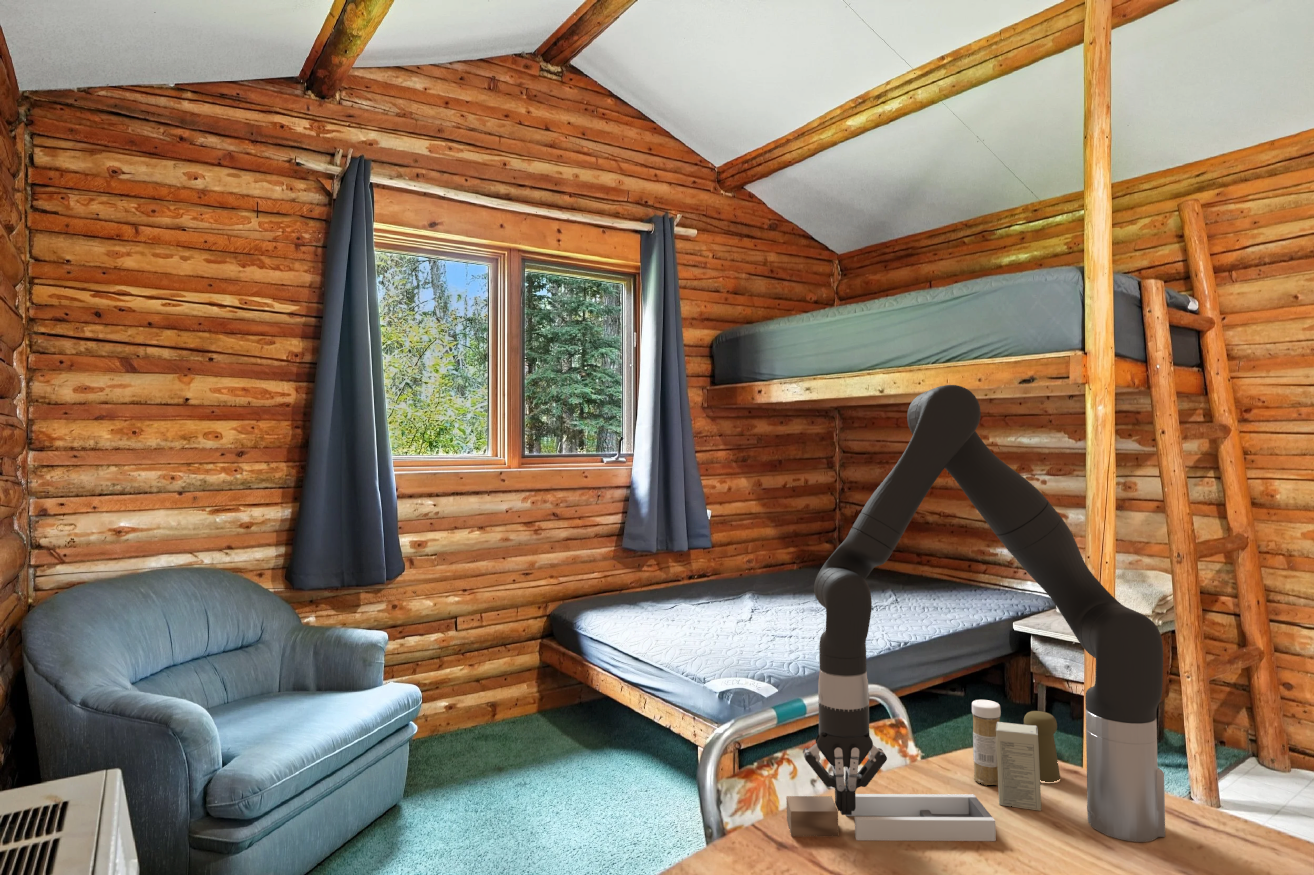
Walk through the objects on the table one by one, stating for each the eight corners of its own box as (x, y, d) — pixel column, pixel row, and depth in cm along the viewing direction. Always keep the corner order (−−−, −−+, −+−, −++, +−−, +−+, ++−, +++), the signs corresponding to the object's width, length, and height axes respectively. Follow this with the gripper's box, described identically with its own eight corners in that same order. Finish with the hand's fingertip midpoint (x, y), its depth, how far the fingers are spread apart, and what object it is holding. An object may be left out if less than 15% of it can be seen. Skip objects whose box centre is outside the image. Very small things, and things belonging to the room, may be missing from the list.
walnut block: (832, 821, 121) (831, 796, 121) (838, 838, 116) (838, 811, 116) (786, 821, 121) (786, 796, 121) (791, 838, 116) (790, 811, 116)
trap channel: (974, 813, 122) (973, 794, 122) (995, 841, 114) (995, 820, 114) (844, 812, 123) (844, 793, 123) (856, 840, 115) (856, 819, 115)
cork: (1065, 785, 132) (1064, 720, 132) (1027, 782, 133) (1026, 718, 133) (1054, 770, 138) (1053, 708, 138) (1018, 768, 139) (1017, 706, 139)
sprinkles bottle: (1006, 781, 134) (1004, 702, 134) (995, 789, 131) (993, 709, 131) (979, 773, 137) (978, 696, 137) (968, 781, 134) (967, 703, 134)
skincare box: (1040, 800, 126) (1039, 725, 126) (1041, 812, 122) (1040, 734, 123) (997, 793, 129) (996, 719, 129) (996, 804, 125) (995, 728, 125)
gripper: (881, 691, 123) (882, 801, 122) (796, 691, 123) (798, 801, 123) (893, 707, 115) (895, 824, 115) (803, 707, 116) (805, 824, 115)
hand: (845, 812), depth 119 cm, fingers closed
